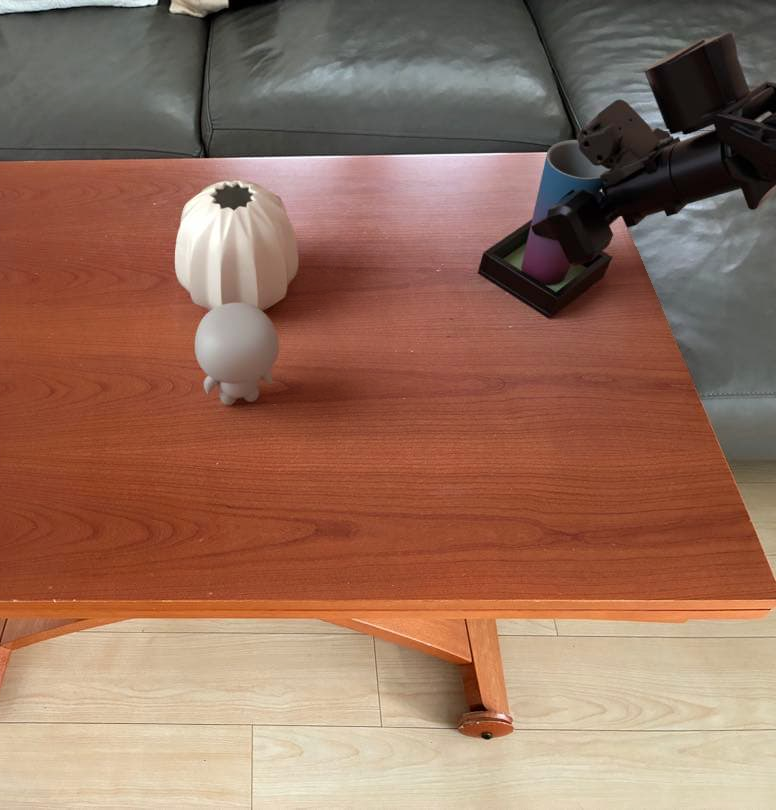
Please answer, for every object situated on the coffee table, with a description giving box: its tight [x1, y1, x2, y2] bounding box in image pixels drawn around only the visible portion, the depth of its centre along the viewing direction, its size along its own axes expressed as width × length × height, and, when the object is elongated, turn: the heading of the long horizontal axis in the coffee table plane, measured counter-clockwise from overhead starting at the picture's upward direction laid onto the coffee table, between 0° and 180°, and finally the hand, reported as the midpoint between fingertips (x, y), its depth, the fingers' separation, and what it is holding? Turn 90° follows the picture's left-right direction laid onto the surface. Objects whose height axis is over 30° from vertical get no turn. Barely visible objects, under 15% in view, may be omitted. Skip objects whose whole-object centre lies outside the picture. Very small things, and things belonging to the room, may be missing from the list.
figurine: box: [194, 303, 280, 406], centre depth 76 cm, size 8×8×12 cm
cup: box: [521, 139, 611, 285], centre depth 84 cm, size 7×7×15 cm
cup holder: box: [477, 218, 613, 320], centre depth 89 cm, size 10×10×3 cm
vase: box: [174, 179, 300, 312], centre depth 86 cm, size 14×14×13 cm
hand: (549, 216), depth 85 cm, fingers closed on cup, 6 cm apart
